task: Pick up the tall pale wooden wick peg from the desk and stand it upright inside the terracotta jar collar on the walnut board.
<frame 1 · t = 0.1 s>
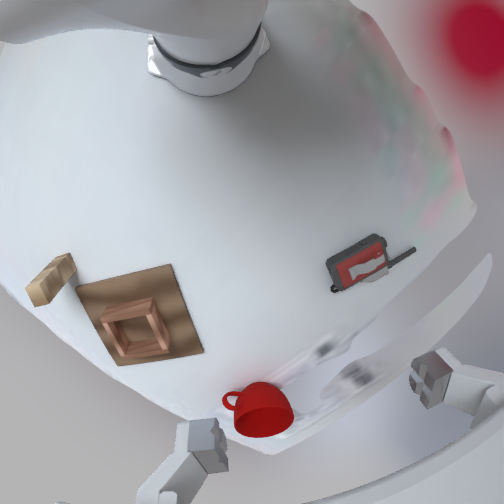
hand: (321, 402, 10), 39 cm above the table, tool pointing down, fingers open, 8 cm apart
walkie-talkie: (369, 255, 54), on the table
jar collar: (139, 320, 52), on the table
wooden wick peg: (66, 263, 46), on the table
ceramic cup: (251, 387, 63), on the table
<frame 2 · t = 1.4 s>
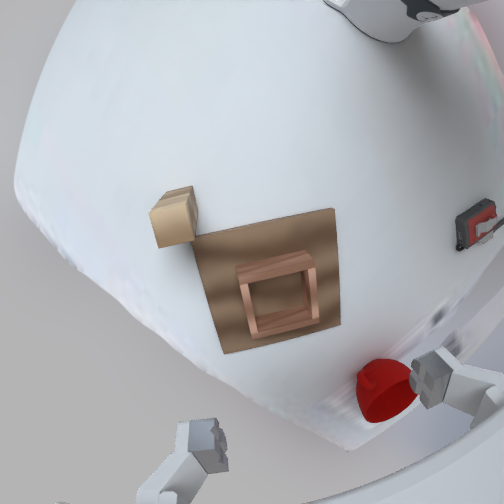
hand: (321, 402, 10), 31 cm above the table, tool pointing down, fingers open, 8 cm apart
walkie-talkie: (479, 219, 46), on the table
jar collar: (274, 285, 43), on the table
wooden wick peg: (182, 201, 37), on the table
ceramic cup: (368, 367, 54), on the table
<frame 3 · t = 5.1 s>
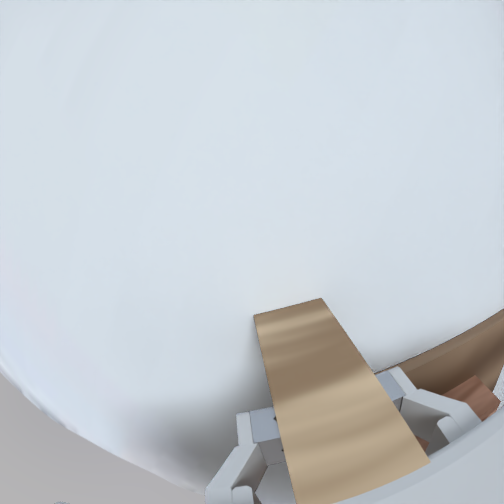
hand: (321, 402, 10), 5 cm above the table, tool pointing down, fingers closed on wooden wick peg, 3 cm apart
jar collar: (416, 426, 20), on the table
wooden wick peg: (293, 334, 15), on the table, touching gripper
when the fingers open (8 cm above the table, at t = 13.7 s): wooden wick peg drops 1 cm, resting on jar collar.
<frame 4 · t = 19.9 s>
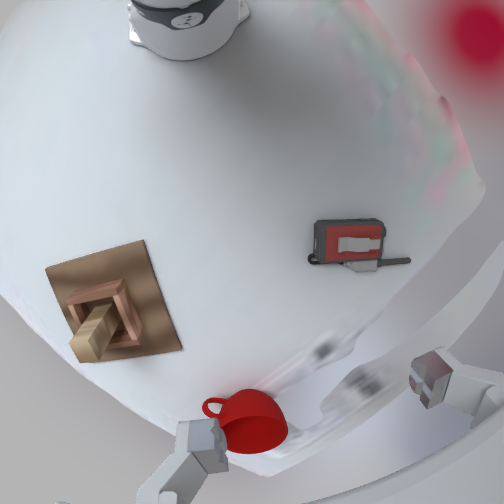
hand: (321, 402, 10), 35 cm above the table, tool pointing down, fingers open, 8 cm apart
walkie-talkie: (361, 242, 47), on the table
jar collar: (110, 308, 45), on the table
wooden wick peg: (109, 311, 44), point 1 cm above the table, touching jar collar
ceramic cup: (239, 395, 54), on the table
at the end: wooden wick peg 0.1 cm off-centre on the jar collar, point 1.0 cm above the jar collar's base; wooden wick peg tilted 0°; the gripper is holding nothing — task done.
